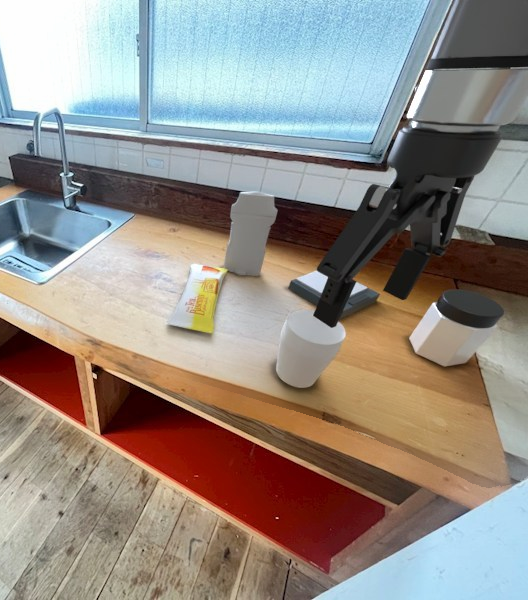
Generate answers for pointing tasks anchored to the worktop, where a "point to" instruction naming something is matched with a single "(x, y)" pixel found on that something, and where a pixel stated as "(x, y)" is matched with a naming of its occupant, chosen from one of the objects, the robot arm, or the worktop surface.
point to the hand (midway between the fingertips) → (360, 307)
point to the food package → (199, 299)
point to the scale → (314, 285)
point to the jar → (455, 327)
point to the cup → (306, 348)
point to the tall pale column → (249, 232)
